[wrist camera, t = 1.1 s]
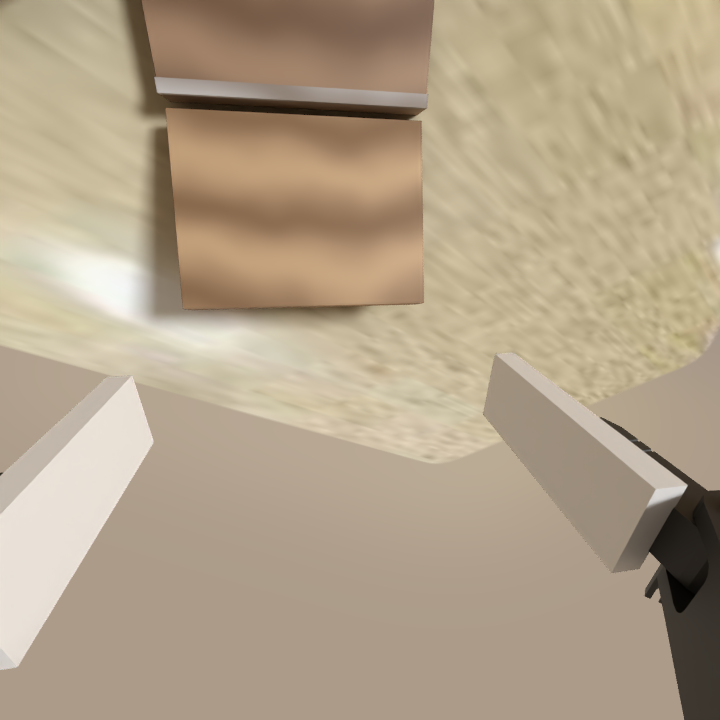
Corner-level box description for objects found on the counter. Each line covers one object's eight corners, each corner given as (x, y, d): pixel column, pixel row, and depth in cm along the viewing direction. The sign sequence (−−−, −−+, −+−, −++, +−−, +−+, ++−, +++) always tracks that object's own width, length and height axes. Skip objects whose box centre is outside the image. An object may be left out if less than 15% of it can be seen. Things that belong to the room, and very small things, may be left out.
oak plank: (177, 125, 25) (165, 107, 23) (413, 135, 27) (421, 120, 25) (192, 309, 26) (182, 308, 24) (415, 304, 28) (423, 302, 26)
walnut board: (132, -107, 20) (111, -144, 18) (430, -68, 22) (444, -96, 20) (170, 101, 24) (157, 92, 22) (417, 115, 26) (427, 107, 24)
